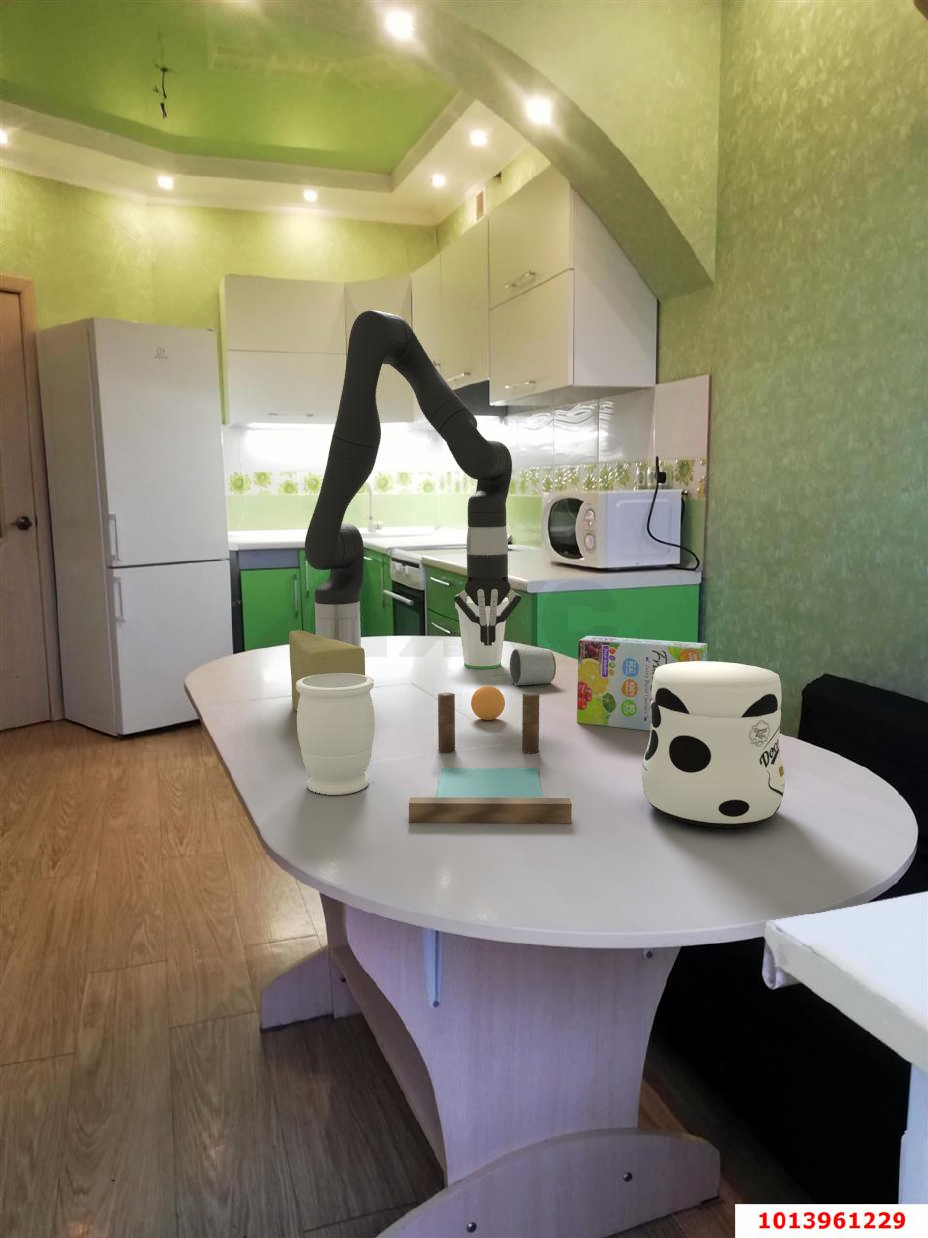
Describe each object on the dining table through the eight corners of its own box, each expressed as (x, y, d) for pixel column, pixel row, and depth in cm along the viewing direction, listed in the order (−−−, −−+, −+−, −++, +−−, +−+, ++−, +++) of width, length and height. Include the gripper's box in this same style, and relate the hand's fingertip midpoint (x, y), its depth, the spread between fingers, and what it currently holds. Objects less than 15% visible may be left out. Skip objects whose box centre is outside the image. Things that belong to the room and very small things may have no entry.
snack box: (705, 729, 146) (708, 642, 144) (699, 738, 141) (703, 648, 139) (584, 716, 155) (586, 633, 153) (575, 723, 150) (576, 638, 148)
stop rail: (409, 822, 106) (408, 803, 106) (410, 816, 108) (410, 797, 108) (571, 823, 106) (571, 803, 106) (569, 817, 108) (570, 798, 108)
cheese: (270, 710, 160) (267, 631, 157) (320, 703, 164) (317, 626, 162) (314, 740, 141) (311, 650, 138) (368, 732, 146) (366, 644, 143)
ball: (470, 724, 150) (470, 690, 149) (471, 714, 156) (471, 682, 155) (505, 724, 150) (505, 690, 149) (504, 715, 156) (504, 682, 155)
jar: (388, 778, 123) (386, 674, 120) (355, 803, 113) (353, 691, 111) (321, 770, 126) (318, 669, 124) (284, 794, 116) (280, 685, 114)
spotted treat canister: (813, 830, 104) (822, 684, 101) (685, 847, 99) (691, 694, 96) (730, 782, 120) (736, 656, 117) (617, 795, 115) (620, 664, 112)
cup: (447, 668, 195) (446, 601, 192) (467, 658, 206) (467, 594, 204) (498, 672, 190) (499, 604, 188) (516, 662, 201) (517, 597, 199)
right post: (522, 753, 133) (522, 696, 132) (521, 748, 136) (522, 692, 135) (539, 753, 133) (539, 696, 132) (538, 748, 136) (538, 692, 135)
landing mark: (435, 804, 112) (435, 803, 112) (441, 769, 126) (441, 768, 126) (543, 805, 112) (543, 803, 112) (536, 769, 126) (536, 768, 126)
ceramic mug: (558, 686, 177) (558, 649, 176) (520, 689, 175) (520, 652, 174) (539, 676, 187) (539, 641, 186) (503, 679, 185) (503, 643, 184)
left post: (438, 753, 134) (437, 696, 132) (438, 748, 136) (438, 692, 135) (454, 753, 134) (454, 696, 132) (455, 748, 136) (454, 692, 135)
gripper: (450, 553, 154) (451, 649, 156) (524, 552, 154) (524, 648, 156) (451, 550, 161) (453, 641, 164) (522, 549, 161) (522, 641, 164)
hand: (488, 644), depth 160 cm, fingers closed
